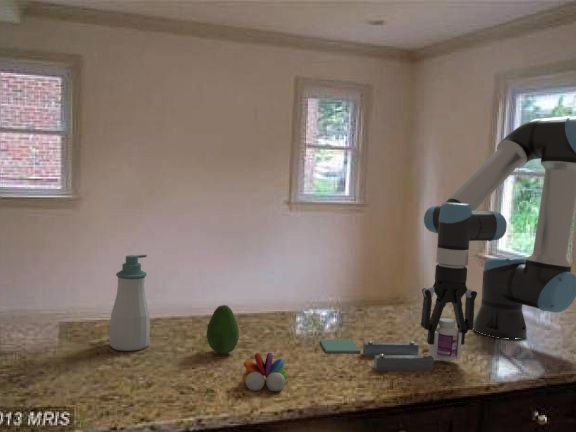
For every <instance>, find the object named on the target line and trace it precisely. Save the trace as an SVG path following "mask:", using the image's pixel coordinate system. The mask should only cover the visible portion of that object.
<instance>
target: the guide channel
mask: <svg viewBox="0 0 576 432" xmlns="http://www.w3.org/2000/svg"><path fill="white" fill-rule="evenodd" d="M362 345H363V346H362V348H363V349H362V355H364V357H374V358H373V359H374V360H373V369H374V370H375V371H381V372H383V371H385V372H386V371H389V372H390V371H398V372H399V371H401V372H402V371H410V372H411V371H413V372H414V371H416V372H417V371H421V372H423V371H424V372H425V371H429V372H431V371H434V363H435V359H434V358H433V357H432V356H430V354H428V353H423V355H419V348H420V347H419V343H417V342H415V341H412V340H411V341H409V342H392V341H391V342H386V341H385V342H379V341H375V342H374V341H372V340H368V341H365V342H363V344H362Z"/></svg>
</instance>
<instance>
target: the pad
mask: <svg viewBox="0 0 576 432" xmlns="http://www.w3.org/2000/svg"><path fill="white" fill-rule="evenodd" d="M319 343H320V345H321V346H322V348H323V350H324V352H325V353H326V354H361V351H362V350H361V349H360V348H359V346H358V345H357V344H356V343H355V342H354V340H353V339H319Z"/></svg>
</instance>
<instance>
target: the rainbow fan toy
mask: <svg viewBox="0 0 576 432" xmlns="http://www.w3.org/2000/svg"><path fill="white" fill-rule="evenodd" d="M273 357H274V354H273V353H272V352H270V351H269V352H268V353H267V354H266V357H265V361H263V358H262V356H261V354H260V353H258V352H256V353H255V354H254V359H255V362H254V361H252V360H251V361H250V360H246V361H245V362H244V363H243V366H244V367H245V372H244V373H243V374H242V375H241V378H242V379H241V380H242V381H243V382H244V383H245V386H246V387H247V388H248V390H250V391H252V392H259V391H261V390H262V388H263V387H264V386H265V384H266V387H267V389H269V390H270V391H272V392H278V391H281V390H282V389H284V386H285V384H286V380H287V379H288V378H289V377H288V372H287V371H286V370H284V369H283V367H284V365H285V360H284V359H283V358H279V359H276V360H274V362H273Z"/></svg>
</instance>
